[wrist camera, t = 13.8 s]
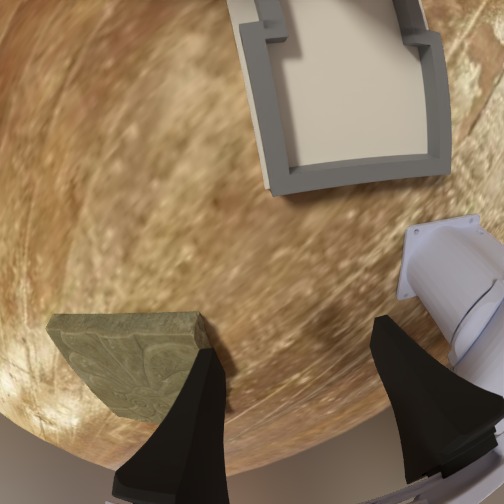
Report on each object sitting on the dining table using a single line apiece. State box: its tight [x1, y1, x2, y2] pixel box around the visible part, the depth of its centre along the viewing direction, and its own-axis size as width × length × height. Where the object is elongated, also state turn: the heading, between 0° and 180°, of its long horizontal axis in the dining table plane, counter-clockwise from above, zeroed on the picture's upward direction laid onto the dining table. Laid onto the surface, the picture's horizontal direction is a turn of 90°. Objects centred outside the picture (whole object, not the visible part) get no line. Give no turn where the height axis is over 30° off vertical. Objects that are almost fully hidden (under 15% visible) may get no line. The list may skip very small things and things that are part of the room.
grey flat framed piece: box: [226, 0, 452, 197], centre depth 11 cm, size 14×22×2 cm, turn 10°
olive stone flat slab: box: [46, 311, 226, 423], centre depth 28 cm, size 19×20×4 cm
